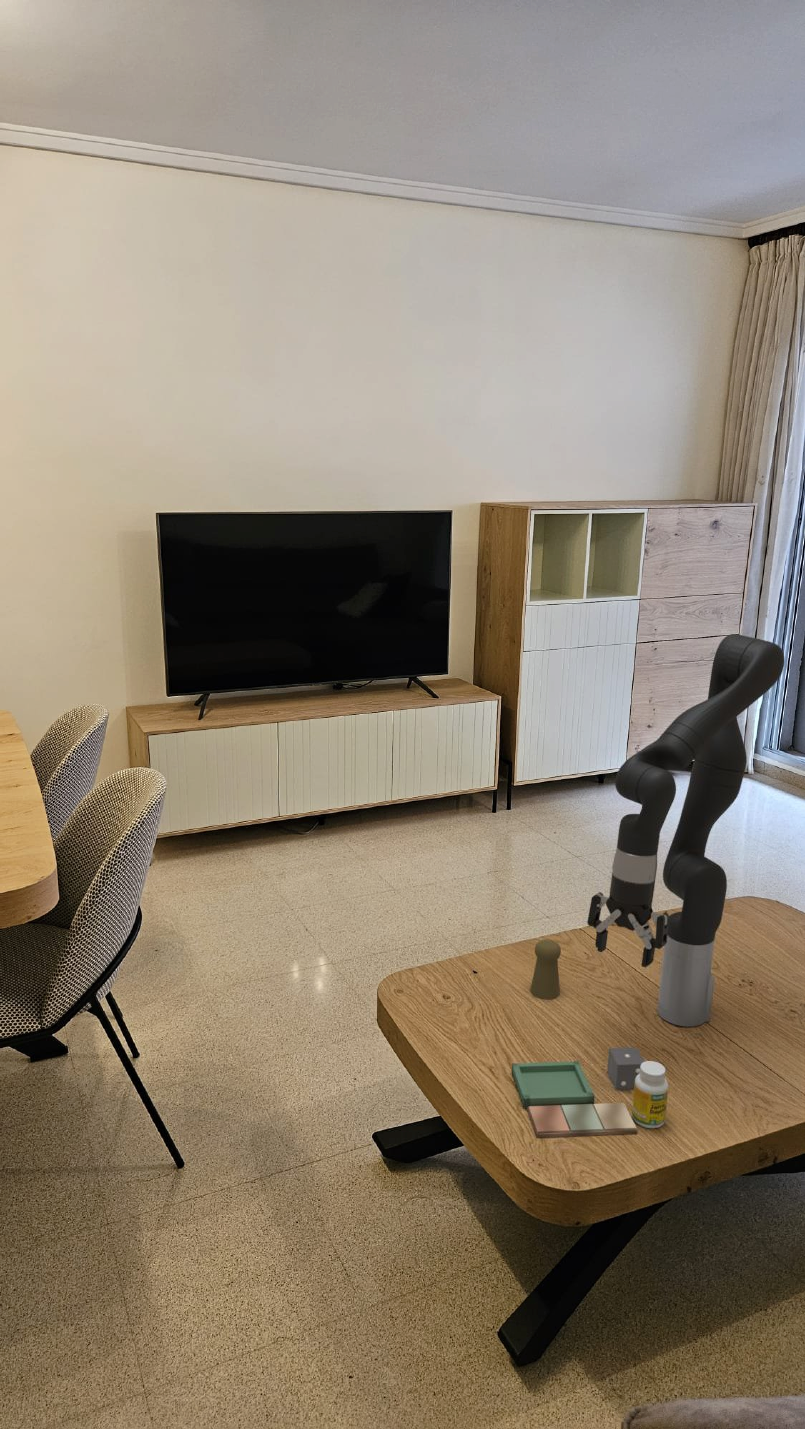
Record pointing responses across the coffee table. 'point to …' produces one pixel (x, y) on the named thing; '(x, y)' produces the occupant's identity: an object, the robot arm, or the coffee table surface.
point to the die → (624, 1067)
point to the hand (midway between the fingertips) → (623, 957)
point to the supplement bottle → (650, 1095)
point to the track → (581, 1120)
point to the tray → (552, 1084)
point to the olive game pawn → (546, 970)
